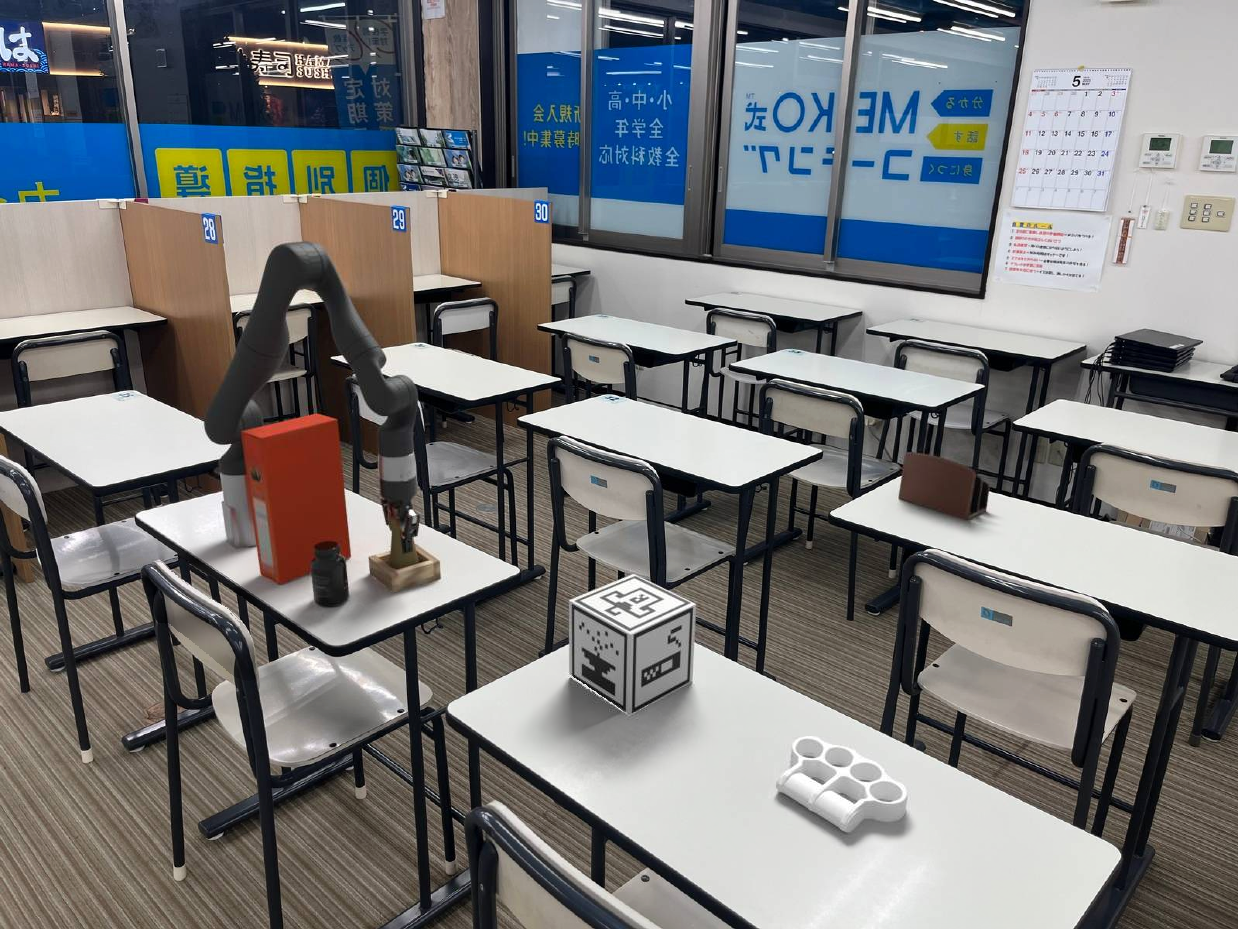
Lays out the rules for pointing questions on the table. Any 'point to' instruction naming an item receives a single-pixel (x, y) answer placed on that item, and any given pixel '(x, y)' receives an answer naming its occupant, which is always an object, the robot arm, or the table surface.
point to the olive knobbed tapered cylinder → (400, 548)
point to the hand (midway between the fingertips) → (402, 549)
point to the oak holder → (404, 570)
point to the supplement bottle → (329, 575)
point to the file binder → (295, 493)
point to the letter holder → (943, 486)
